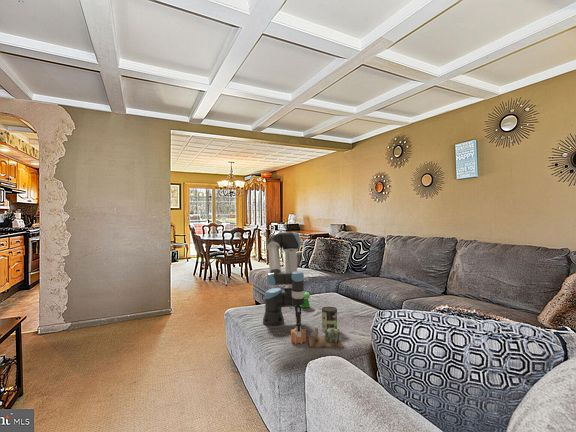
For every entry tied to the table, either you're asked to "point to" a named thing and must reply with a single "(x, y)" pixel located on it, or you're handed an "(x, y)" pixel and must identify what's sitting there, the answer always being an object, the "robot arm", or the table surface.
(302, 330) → the loose gear
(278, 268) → the robot arm
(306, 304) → the toy character
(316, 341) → the gear board
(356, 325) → the table surface
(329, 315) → the coffee can
